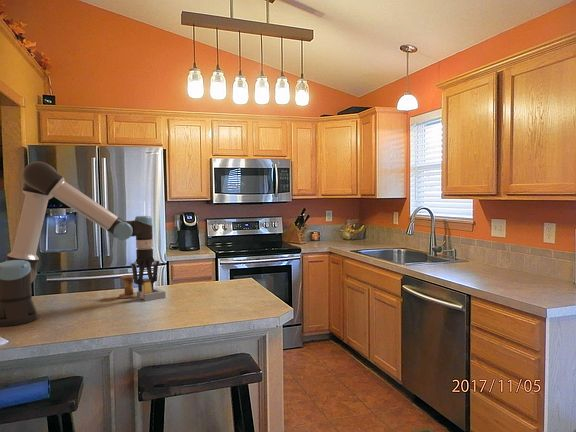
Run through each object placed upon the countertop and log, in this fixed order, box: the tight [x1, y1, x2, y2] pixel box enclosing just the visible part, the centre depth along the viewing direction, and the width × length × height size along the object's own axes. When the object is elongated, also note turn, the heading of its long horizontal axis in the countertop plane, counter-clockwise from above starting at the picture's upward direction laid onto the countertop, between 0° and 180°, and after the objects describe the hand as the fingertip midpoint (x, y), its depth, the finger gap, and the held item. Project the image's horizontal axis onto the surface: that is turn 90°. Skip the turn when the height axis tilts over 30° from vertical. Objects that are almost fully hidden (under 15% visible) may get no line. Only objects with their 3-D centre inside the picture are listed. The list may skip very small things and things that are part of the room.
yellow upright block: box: [142, 278, 151, 294], centre depth 198 cm, size 3×5×9 cm, turn 41°
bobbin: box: [118, 274, 137, 300], centre depth 203 cm, size 9×9×10 cm
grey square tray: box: [136, 287, 167, 302], centre depth 200 cm, size 10×10×3 cm
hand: (146, 297), depth 199 cm, fingers closed on yellow upright block, 3 cm apart
